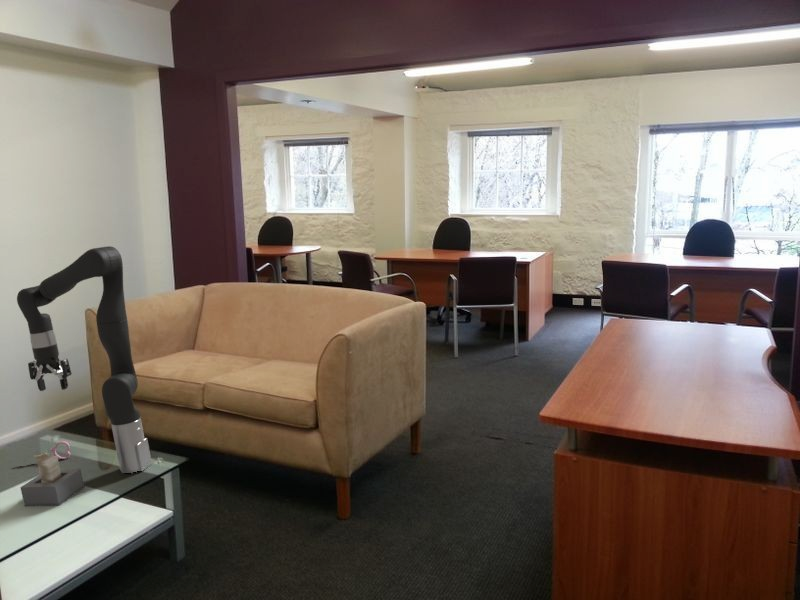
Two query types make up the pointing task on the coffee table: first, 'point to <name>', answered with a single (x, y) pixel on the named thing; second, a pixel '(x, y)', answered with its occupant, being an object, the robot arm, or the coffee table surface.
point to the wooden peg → (49, 469)
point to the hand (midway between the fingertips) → (53, 389)
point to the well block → (52, 489)
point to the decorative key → (55, 451)
